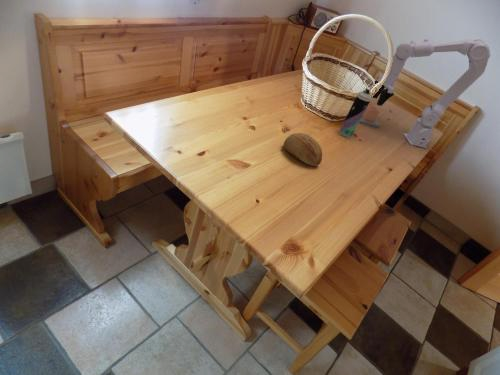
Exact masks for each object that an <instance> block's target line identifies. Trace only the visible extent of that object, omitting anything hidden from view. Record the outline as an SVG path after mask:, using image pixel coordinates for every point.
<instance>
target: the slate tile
mask: <svg viewBox="0 0 500 375" xmlns="http://www.w3.org/2000/svg"><path fill="white" fill-rule="evenodd" d="M358 124H362V125H364V126H369V127H374V128H378V129H379V128H381V123H380V122H379V121H378V119H377V118H376V120H375V121H374V122H372V121H368V120H364V118H363V116H362V118H361V120H360V122H359V123H358Z"/></svg>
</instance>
